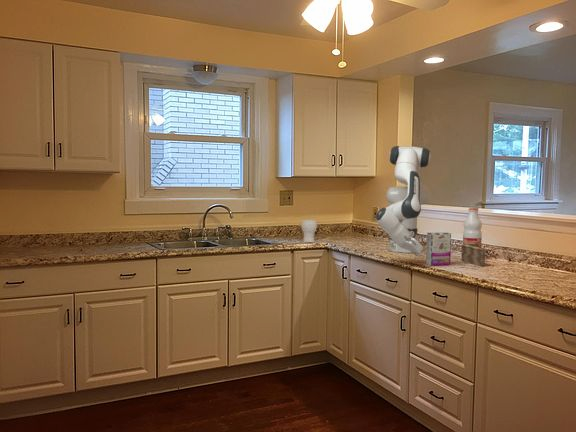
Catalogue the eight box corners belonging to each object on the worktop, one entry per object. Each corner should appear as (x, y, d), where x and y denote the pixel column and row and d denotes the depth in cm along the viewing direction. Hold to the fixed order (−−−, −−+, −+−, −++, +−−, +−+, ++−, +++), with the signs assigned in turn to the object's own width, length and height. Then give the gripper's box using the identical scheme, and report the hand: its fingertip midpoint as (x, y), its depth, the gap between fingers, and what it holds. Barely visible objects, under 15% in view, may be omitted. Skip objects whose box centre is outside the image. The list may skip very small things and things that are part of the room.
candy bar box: (444, 263, 249) (445, 231, 248) (450, 265, 244) (451, 232, 243) (425, 264, 246) (426, 232, 245) (431, 266, 241) (432, 233, 240)
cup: (302, 243, 325) (302, 220, 324) (299, 241, 336) (300, 219, 335) (317, 243, 327) (318, 220, 326) (315, 241, 337) (315, 219, 336)
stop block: (460, 260, 259) (461, 244, 258) (464, 260, 259) (464, 244, 259) (480, 266, 241) (481, 248, 241) (484, 266, 242) (485, 248, 241)
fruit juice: (472, 257, 271) (474, 207, 269) (484, 260, 262) (486, 208, 260) (458, 258, 267) (460, 207, 265) (470, 261, 259) (472, 208, 257)
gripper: (415, 233, 230) (433, 253, 233) (396, 229, 250) (413, 247, 252) (406, 242, 229) (424, 262, 232) (388, 237, 249) (405, 256, 252)
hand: (418, 254), depth 242 cm, fingers closed
